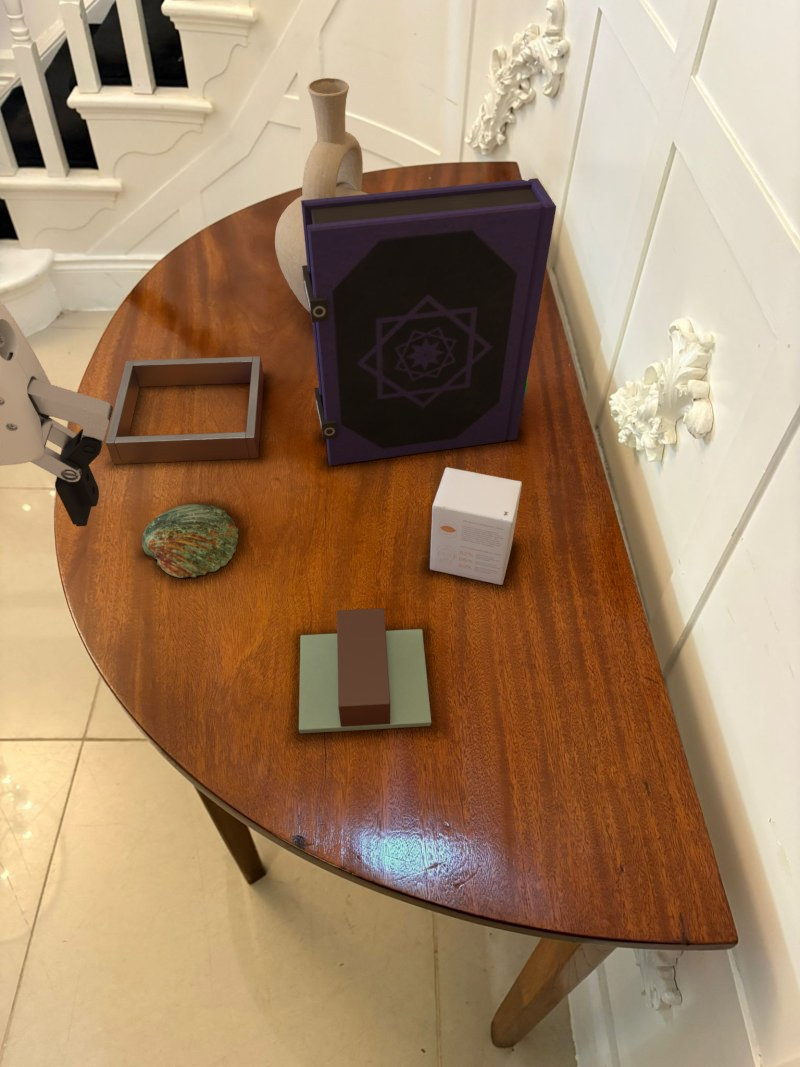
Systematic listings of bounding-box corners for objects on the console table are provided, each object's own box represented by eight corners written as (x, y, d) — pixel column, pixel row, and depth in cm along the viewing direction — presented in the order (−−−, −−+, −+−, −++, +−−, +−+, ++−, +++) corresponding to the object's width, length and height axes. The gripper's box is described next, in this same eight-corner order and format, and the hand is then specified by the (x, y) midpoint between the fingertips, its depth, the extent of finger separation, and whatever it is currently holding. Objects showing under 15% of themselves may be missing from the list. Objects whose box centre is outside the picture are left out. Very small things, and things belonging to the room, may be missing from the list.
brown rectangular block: (340, 727, 70) (338, 706, 67) (339, 632, 76) (336, 610, 73) (390, 724, 70) (390, 703, 67) (384, 630, 77) (384, 607, 73)
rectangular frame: (113, 464, 92) (105, 443, 89) (133, 382, 101) (126, 360, 99) (258, 458, 93) (254, 437, 90) (264, 377, 102) (260, 356, 99)
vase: (381, 354, 105) (378, 124, 82) (266, 334, 108) (232, 106, 85) (412, 287, 115) (417, 65, 92) (306, 270, 118) (285, 51, 95)
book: (503, 409, 98) (537, 175, 75) (517, 442, 95) (558, 207, 71) (318, 433, 95) (295, 197, 72) (326, 470, 91) (303, 232, 68)
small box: (512, 547, 84) (524, 480, 76) (502, 587, 81) (514, 522, 73) (440, 531, 86) (445, 464, 77) (427, 570, 82) (431, 504, 74)
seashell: (234, 545, 79) (133, 559, 78) (241, 571, 82) (143, 585, 81) (231, 480, 86) (138, 492, 84) (237, 506, 88) (147, 518, 87)
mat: (299, 733, 70) (298, 729, 70) (301, 639, 77) (300, 635, 76) (430, 726, 71) (431, 722, 70) (421, 633, 77) (422, 628, 77)
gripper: (72, 228, 39) (153, 465, 52) (-283, 237, 38) (-110, 476, 52) (38, 316, 34) (137, 553, 48) (-368, 329, 34) (-153, 566, 47)
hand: (8, 513), depth 50 cm, fingers open, 9 cm apart
